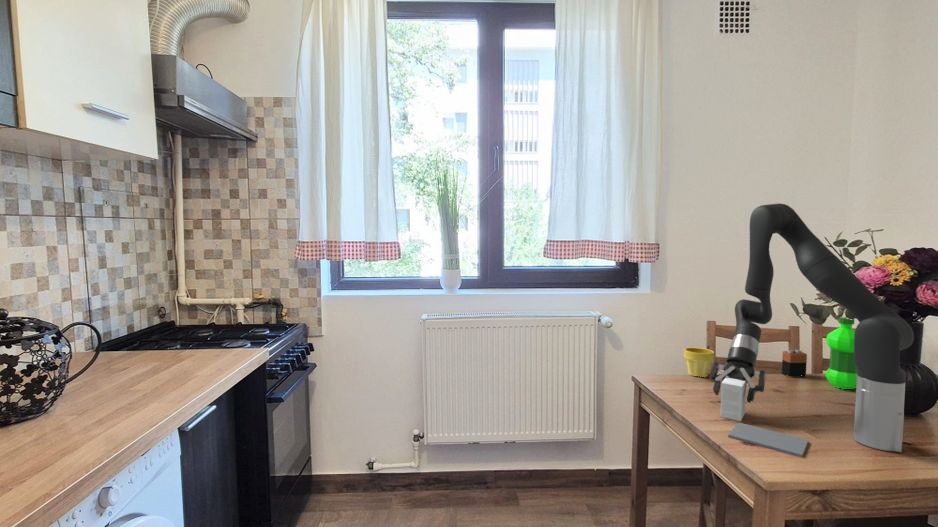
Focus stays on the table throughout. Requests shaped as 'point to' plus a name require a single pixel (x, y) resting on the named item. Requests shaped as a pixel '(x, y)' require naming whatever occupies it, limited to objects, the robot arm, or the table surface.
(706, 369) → the plant pot
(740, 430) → the mat
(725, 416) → the small box
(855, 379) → the plastic bottle
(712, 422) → the table surface
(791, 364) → the battery
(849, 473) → the table surface
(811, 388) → the table surface
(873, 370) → the robot arm
